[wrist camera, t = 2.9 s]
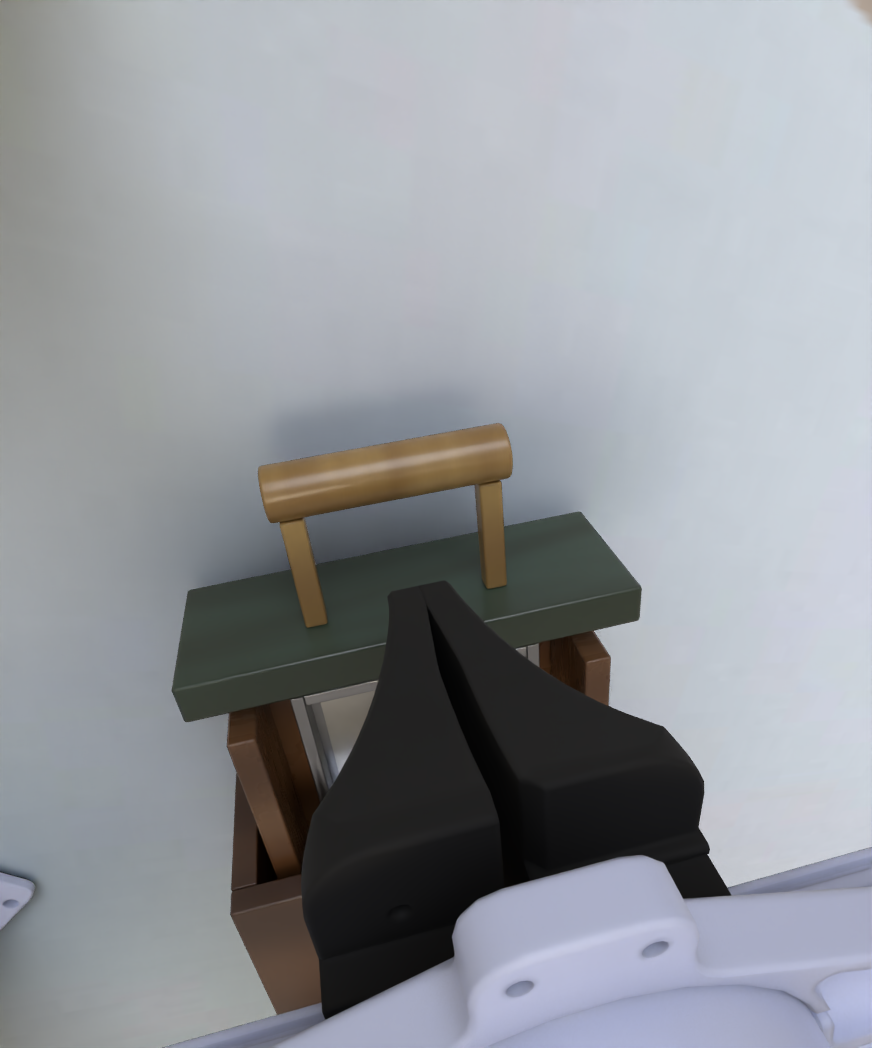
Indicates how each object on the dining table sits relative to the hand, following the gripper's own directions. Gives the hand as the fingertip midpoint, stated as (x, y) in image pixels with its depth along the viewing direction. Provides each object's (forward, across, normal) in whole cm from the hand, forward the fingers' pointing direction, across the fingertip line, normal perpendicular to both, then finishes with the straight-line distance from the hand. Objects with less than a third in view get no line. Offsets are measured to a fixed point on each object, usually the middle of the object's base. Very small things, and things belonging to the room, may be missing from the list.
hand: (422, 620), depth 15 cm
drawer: (+6, 0, +7) cm, 9 cm away
